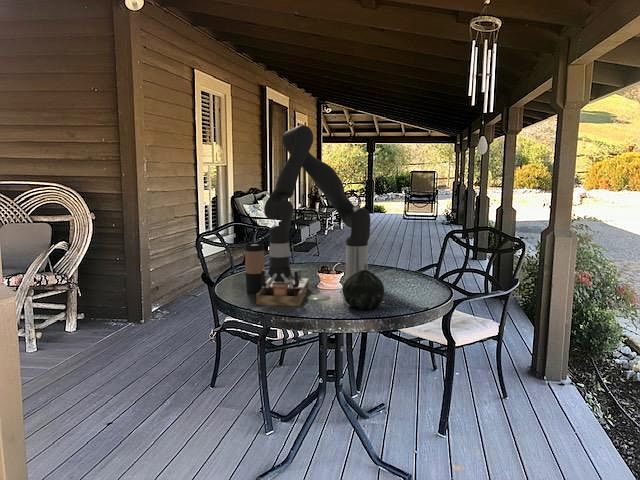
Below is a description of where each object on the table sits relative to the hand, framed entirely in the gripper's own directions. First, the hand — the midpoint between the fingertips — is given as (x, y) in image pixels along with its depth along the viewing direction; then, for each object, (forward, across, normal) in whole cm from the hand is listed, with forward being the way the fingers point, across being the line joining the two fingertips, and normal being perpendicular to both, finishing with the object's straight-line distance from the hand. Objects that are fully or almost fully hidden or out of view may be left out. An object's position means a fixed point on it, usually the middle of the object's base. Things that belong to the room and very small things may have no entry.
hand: (280, 297), depth 188 cm
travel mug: (+3, +13, -15) cm, 20 cm away
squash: (+3, -31, +1) cm, 31 cm away
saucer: (+2, -14, -7) cm, 15 cm away
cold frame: (+2, 0, -7) cm, 8 cm away
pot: (+2, 0, 0) cm, 2 cm away
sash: (-2, 0, -12) cm, 12 cm away
